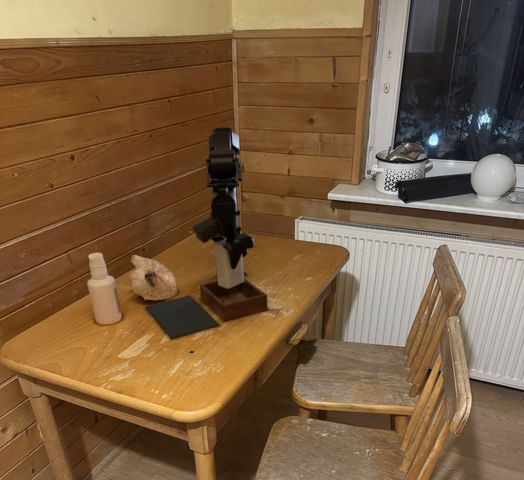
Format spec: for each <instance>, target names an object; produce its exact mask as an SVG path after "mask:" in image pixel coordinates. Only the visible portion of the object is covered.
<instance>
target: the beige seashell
mask: <svg viewBox="0 0 524 480" xmlns="http://www.w3.org/2000/svg"><path fill="white" fill-rule="evenodd" d="M130 263H132V264H133V266H134V267H135V269H134V270H132V271H131V272H130V273H129V274H128V276H129V279H130V280H131V283H130V287H131V288H132V290H133V292H134V294H136V295H137V296H141V297H142V298H143V300H142V303H143V302H146V301H148V300H150V301H159V300H168V299H171V298H172V297H174V296H176V294H178V286H177V282H176V279H177V278H176V276H175V275H174V274H173V272H172V271H170V269H168V268H167V267H166V266H165V265H164V263H161V262H159V260H156V259H152V258H149V257H143V256H141V255H140V256H139V255H136V254H133V255H132V256H131V260H130Z"/></svg>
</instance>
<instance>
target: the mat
mask: <svg viewBox="0 0 524 480" xmlns="http://www.w3.org/2000/svg"><path fill="white" fill-rule="evenodd" d="M145 309H146V310H147V311H148V313H149V314H150V315H151V316H152V318H153V319H154V320H155V321H156V322H157V324H158V325H159V327H161V328H162V330H163V331H164V333H165V334H166V335H167V336H168V338H169V339H170V340H174V339H177V338H178V339H179V338H181V337H184V336H185V337H186V336H188V335H192V334H196V333H199V332H203V331H206V330H209V329H213V328H216V327H220V323H218V321H217V320H216V319H215V318H214V317H213V316H212V315H210V313H209V312H207V311H206V309H204V307H202V306H201V305H200V304H199V302H197V301H196V299H194V298H193V297H192V296H191V295H185V296H181V297H177V298H174V299H169V300H165V301H161V302H156V303H153V304H150V305H146V306H145Z"/></svg>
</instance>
